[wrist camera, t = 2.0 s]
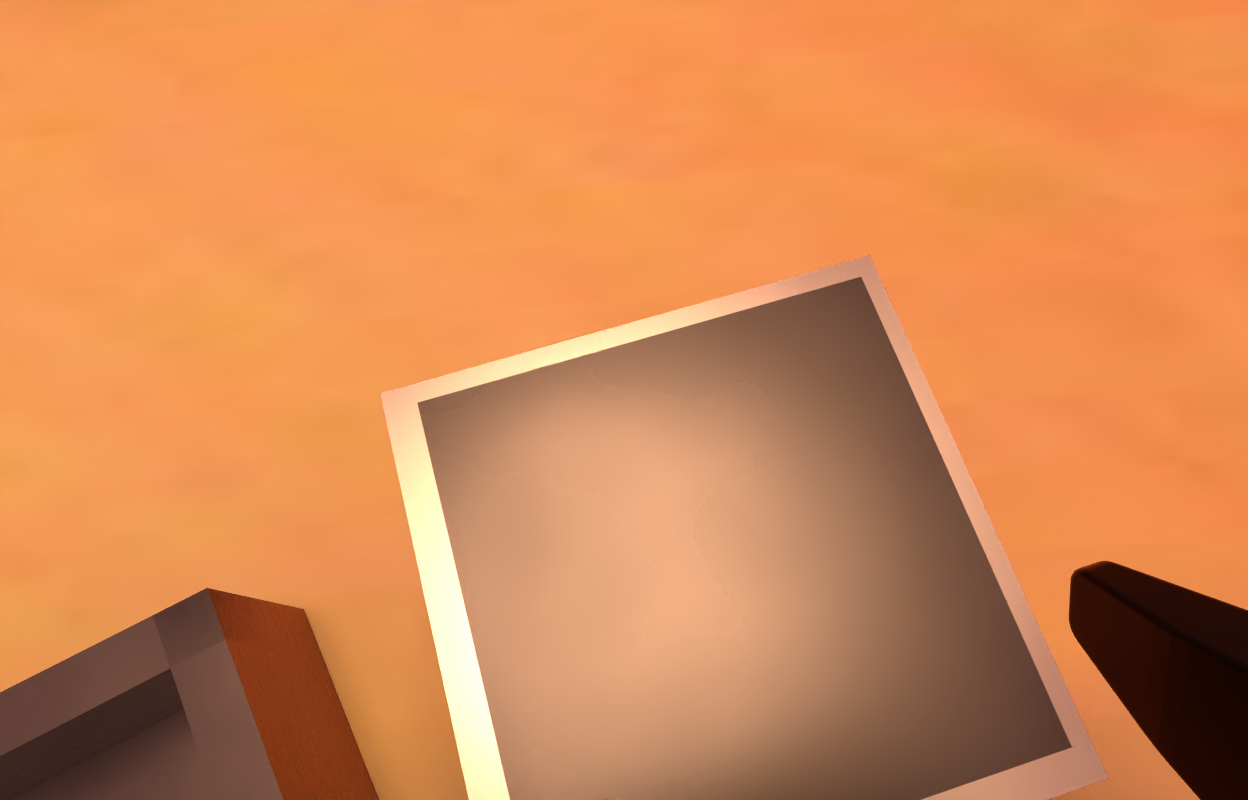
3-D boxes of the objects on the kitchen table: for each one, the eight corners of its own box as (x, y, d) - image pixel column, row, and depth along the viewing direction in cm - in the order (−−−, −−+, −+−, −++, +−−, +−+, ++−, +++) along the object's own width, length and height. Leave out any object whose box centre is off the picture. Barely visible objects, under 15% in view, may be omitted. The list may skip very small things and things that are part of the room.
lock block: (813, 735, 18) (1171, 842, 6) (594, 809, 17) (514, 1081, 6) (731, 503, 20) (884, 228, 8) (529, 564, 19) (364, 374, 7)
